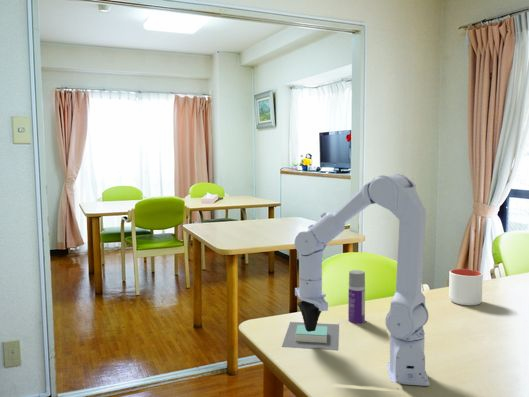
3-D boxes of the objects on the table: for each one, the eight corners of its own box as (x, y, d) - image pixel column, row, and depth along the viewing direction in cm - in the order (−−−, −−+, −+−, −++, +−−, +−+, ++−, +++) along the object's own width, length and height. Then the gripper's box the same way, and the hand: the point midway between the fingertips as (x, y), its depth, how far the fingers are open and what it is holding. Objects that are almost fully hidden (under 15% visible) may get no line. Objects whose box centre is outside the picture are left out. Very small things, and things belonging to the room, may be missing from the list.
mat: (338, 352, 112) (338, 350, 112) (281, 349, 114) (281, 346, 114) (339, 326, 130) (339, 324, 129) (290, 323, 132) (290, 321, 132)
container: (346, 323, 132) (346, 272, 130) (351, 318, 136) (351, 269, 135) (362, 326, 129) (362, 274, 128) (366, 321, 134) (367, 271, 132)
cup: (442, 300, 153) (442, 270, 153) (463, 296, 158) (464, 267, 157) (466, 308, 144) (467, 277, 144) (488, 304, 149) (489, 274, 148)
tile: (326, 335, 116) (327, 326, 122) (295, 333, 118) (297, 324, 124) (326, 342, 116) (327, 333, 123) (295, 341, 118) (297, 332, 124)
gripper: (339, 283, 109) (338, 338, 111) (311, 270, 123) (311, 319, 124) (312, 286, 107) (312, 342, 108) (287, 272, 120) (287, 322, 122)
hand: (310, 330), depth 116 cm, fingers closed
